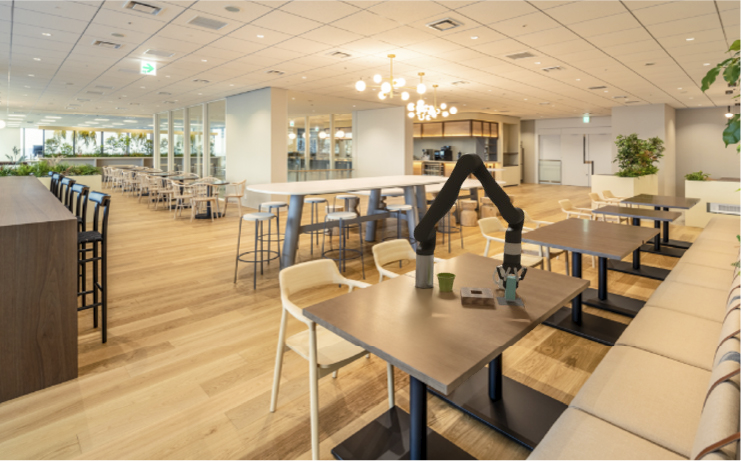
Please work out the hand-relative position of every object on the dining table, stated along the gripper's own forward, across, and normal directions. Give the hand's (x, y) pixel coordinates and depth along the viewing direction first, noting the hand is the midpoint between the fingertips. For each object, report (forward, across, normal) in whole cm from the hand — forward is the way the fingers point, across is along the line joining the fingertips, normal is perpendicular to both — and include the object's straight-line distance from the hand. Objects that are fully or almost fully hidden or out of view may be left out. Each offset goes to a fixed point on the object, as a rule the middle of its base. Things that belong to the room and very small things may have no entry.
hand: (510, 288), depth 183 cm
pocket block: (+7, -15, 0) cm, 17 cm away
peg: (+5, 0, 0) cm, 5 cm away
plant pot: (+7, -29, +12) cm, 32 cm away
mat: (+7, 0, 0) cm, 7 cm away
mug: (+7, -1, +20) cm, 21 cm away
